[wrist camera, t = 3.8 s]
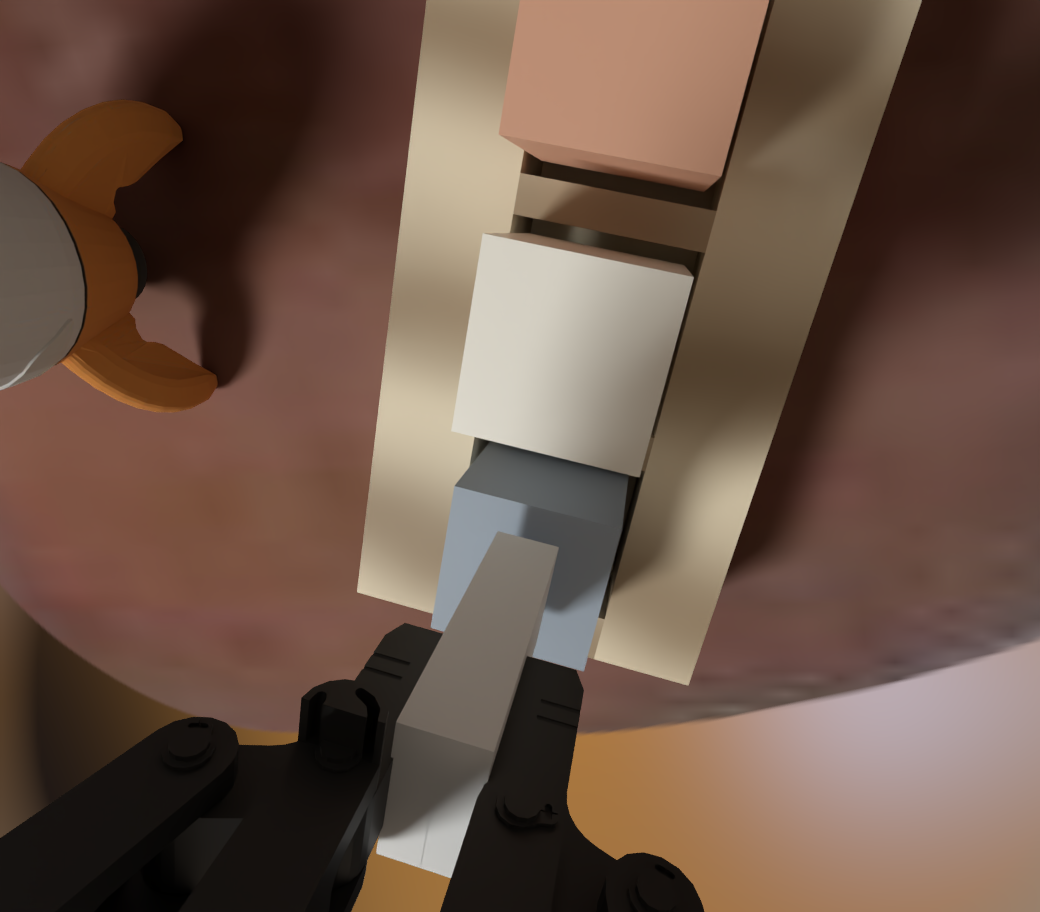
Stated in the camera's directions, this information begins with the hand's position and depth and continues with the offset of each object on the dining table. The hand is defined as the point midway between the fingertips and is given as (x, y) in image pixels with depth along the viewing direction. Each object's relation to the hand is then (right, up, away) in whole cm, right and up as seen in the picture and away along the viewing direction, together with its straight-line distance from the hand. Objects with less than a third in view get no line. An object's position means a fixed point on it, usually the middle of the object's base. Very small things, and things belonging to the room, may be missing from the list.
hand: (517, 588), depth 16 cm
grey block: (+1, +2, +5) cm, 6 cm away
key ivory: (+2, +7, +2) cm, 7 cm away
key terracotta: (+3, +12, 0) cm, 13 cm away
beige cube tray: (+3, +8, +6) cm, 11 cm away
